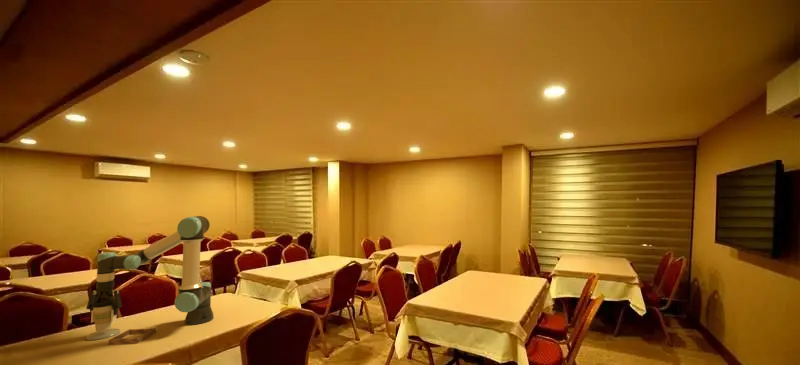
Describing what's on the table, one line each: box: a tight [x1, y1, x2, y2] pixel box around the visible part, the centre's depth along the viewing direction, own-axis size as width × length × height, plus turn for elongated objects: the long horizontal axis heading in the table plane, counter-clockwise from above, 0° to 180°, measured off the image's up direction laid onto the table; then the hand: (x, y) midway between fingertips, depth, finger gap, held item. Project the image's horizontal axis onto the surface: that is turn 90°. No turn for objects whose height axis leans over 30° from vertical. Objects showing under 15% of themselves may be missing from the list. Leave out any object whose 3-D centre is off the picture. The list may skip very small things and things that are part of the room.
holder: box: [108, 327, 157, 345], centre depth 177 cm, size 14×14×2 cm
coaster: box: [85, 328, 121, 342], centre depth 182 cm, size 14×14×1 cm
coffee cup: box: [92, 298, 113, 332], centre depth 182 cm, size 10×10×15 cm
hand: (103, 321), depth 182 cm, fingers closed on coffee cup, 10 cm apart
